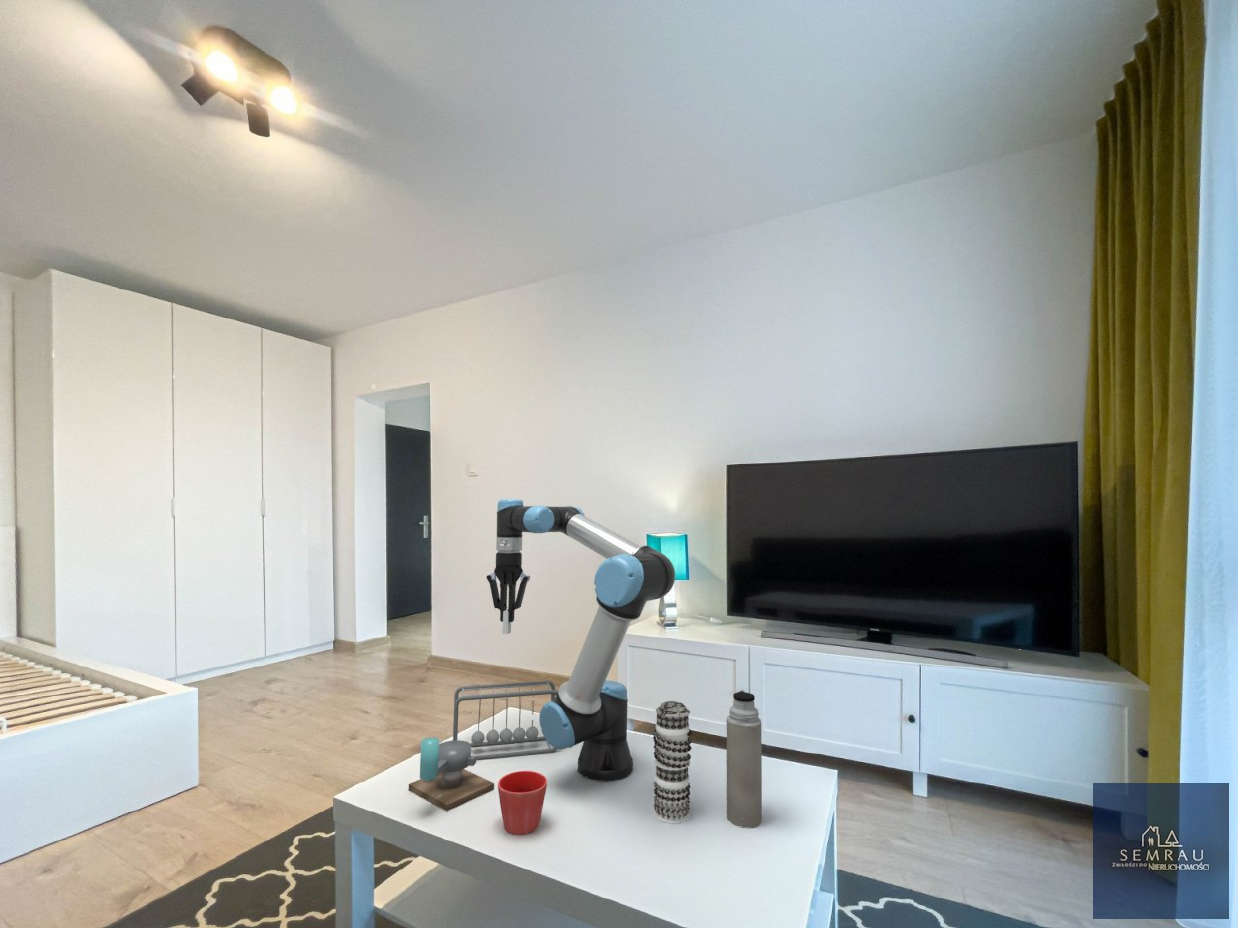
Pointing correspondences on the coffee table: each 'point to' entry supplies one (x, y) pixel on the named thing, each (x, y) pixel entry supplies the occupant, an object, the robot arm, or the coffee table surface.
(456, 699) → the newton's cradle
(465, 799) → the post board
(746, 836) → the coffee table surface
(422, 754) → the crank handle
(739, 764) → the thermos bottle
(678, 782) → the decorative candle
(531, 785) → the flower pot
